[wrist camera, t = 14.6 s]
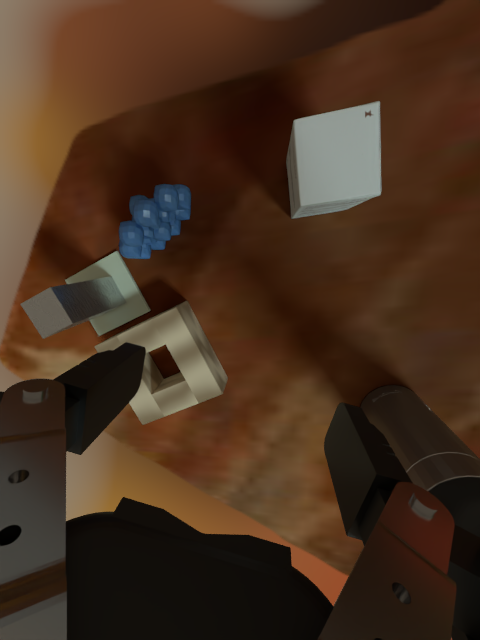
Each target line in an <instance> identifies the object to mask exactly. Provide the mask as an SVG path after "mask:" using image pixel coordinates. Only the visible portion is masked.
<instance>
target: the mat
mask: <svg viewBox="0 0 480 640" xmlns="http://www.w3.org/2000/svg"><path fill="white" fill-rule="evenodd" d="M110 276H112V278H113V279H114V281H115V283H116V285H117V286H118V288H119V290H120V292H121V293H122V295H123V297H124V299H125V300H126V302H127V303H125V304H123V305H121V306H119V307H117V308H115V309H113V310H111V311H109V312H107V313H105V314H103V315H101V316H98V317H96V318H93V319H91V320H89V321H90V322H91V324H92V325H93V327H94V329H95V330H96V332H97V334H98V335H99V336H100V335H102V334H104V333H106V332H108V331H110V330H112V329H115V328H117V327H119V326H121V325H123V324H125V323H127V322H129V321H131V320H133V319H135V318H137V317H139V316H141V315H143V314H145V313H147V312H149V311H151V309H150V308H149V306H148V304H147V302H146V301H145V299H144V297H143V295H142V293H141V292H140V290H139V288H138V286H137V284H136V283H135V281H134V279H133V277H132V275H131V274H130V272H129V270H128V268H127V266H126V265H125V263H124V261H123V259H122V257H121V256H120V254H119V252H118V251H116V252H114V253H112V254H110V255H108V256H107V257H105V258H103V259H101V260H100V261H98V262H96V263H94V264H92V265H91V266H89V267H87V268H85V269H84V270H82V271H80V272H78V273H76V274H75V275H73V276H71V277H69V278H68V279H66V280H65V281H66V283H67V284H72V283H77V282H83V281H88V280H94V279H99V278H105V277H110Z"/></svg>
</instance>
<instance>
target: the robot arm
mask: <svg viewBox="0 0 480 640" xmlns="http://www.w3.org/2000/svg"><path fill="white" fill-rule="evenodd" d="M145 355H146V349H145V347H143V346H139V345H136V344H132V343H128V342H125V343H124V344H122V345H121V346H119V347H118V348H116V349H115V350H113V351H112V350H107V351H103V352H100V353H96V354H95V355H93V356H91V357H90V358H88V359H87V360H85V361H83V362H81V363H80V364H79V365H77V366H75V367H73V368H72V369H70V370H68V371H67V372H65V373H63V374H62V375H60V376H58V377H57V378H55V379H53V380H51V379H31V380H26V381H22V382H19V383H17V384H14V385H12V386H11V387H9V388H8V389H7V390H6V391H5V392H0V640H451V637H452V640H480V459H479V458H478V457H477V456H476V455H475V454H474V453H473V452H472V451H471V450H470V449H469V448H468V447H467V446H466V445H465V444H464V443H463V442H462V440H461V439H460V438H459V437H458V436H457V435H456V434H455V433H454V432H453V431H452V430H451V429H450V428H449V427H448V426H447V425H446V424H445V423H444V422H443V421H442V420H441V419H440V418H439V417H438V416H437V415H436V414H435V413H434V412H433V411H432V410H431V409H430V408H429V407H428V406H427V405H426V404H425V403H424V402H423V401H422V400H421V399H420V398H419V397H418V396H417V395H416V394H415V393H414V392H413V391H411V390H410V389H408V388H405V387H402V386H397V385H388V386H383V387H380V388H378V389H375V390H374V391H372V392H371V393H369V394H368V395H367V396H366V397H365V399H364V400H363V402H362V404H361V407H357V406H353V405H349V404H346V403H340V404H339V405H338V407H337V409H336V411H335V414H334V416H333V419H332V421H331V424H330V426H329V429H328V431H327V434H326V437H325V442H324V451H325V455H326V459H327V462H328V466H329V470H330V474H331V478H332V482H333V485H334V489H335V493H336V497H337V501H338V504H339V508H340V512H341V516H342V520H343V523H344V527H345V531H346V535H347V536H350V537H353V538H356V539H360V540H362V541H363V544H364V548H363V550H362V552H361V553H360V555H359V557H358V559H357V561H356V563H355V565H354V567H353V569H352V571H351V573H350V575H349V577H348V579H347V581H346V583H345V585H344V587H343V589H342V591H341V593H340V595H339V597H338V599H337V601H336V602H335V604H334V606H333V605H332V604H331V603H330V602H329V600H328V599H327V598H326V596H325V595H324V594H323V593H322V592H321V591H320V590H319V589H318V587H317V586H316V585H315V584H314V583H312V582H311V581H310V580H309V579H308V578H307V577H306V576H304V575H303V574H302V573H301V572H299V571H298V570H297V569H295V568H294V567H292V565H291V550H290V547H286V546H283V545H280V544H277V543H273V542H270V541H267V540H263V539H260V538H257V537H253V536H250V535H226V534H204V533H201V532H199V531H197V530H196V529H194V528H192V527H191V526H189V525H188V524H186V523H184V522H183V521H181V520H180V519H178V518H177V517H175V516H173V515H172V514H170V513H169V512H167V511H165V510H164V509H161V508H158V507H154V506H151V505H148V504H144V503H141V502H137V501H134V500H131V499H128V498H125V497H123V498H122V499H121V501H120V503H119V505H118V506H117V508H116V510H115V511H114V512H99V513H93V514H88V515H83V516H80V517H77V518H74V519H71V520H68V521H66V452H67V451H69V452H72V453H75V454H79V455H81V454H82V453H83V452H84V451H85V450H86V449H87V447H88V446H89V445H90V444H91V443H92V442H93V441H94V440H95V439H96V438H97V437H98V436H99V435H100V433H101V432H102V431H103V430H104V429H105V428H106V427H107V426H108V425H109V424H110V423H111V421H112V420H113V419H114V418H115V417H116V416H117V415H118V414H119V413H120V412H121V411H122V409H123V408H124V407H125V406H126V405H127V404H128V403H129V402H130V401H131V400H132V399H133V398H134V396H135V395H136V393H137V392H138V389H139V387H140V384H141V379H142V373H143V367H144V361H145Z"/></svg>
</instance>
